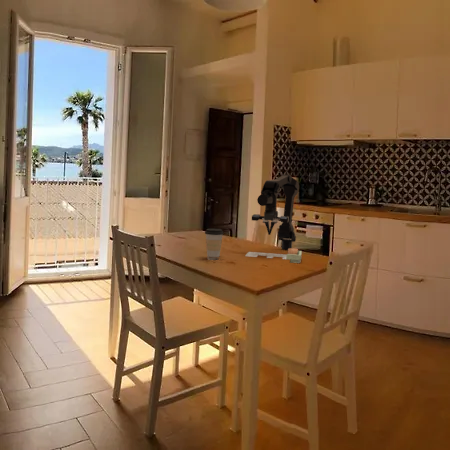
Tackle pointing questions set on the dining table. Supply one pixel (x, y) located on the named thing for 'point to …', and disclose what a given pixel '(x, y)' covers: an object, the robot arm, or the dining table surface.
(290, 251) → the pink short cylinder
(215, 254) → the coffee cup
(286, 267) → the dining table surface
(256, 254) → the deck
